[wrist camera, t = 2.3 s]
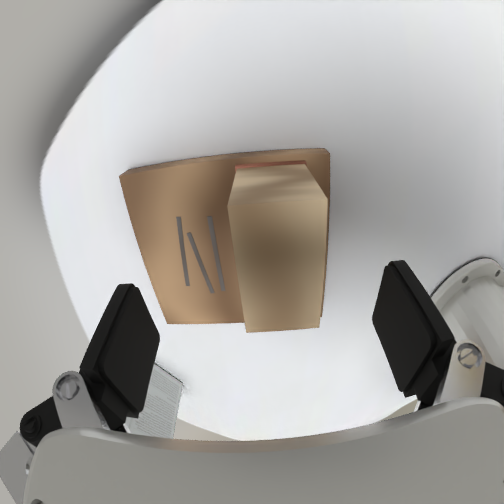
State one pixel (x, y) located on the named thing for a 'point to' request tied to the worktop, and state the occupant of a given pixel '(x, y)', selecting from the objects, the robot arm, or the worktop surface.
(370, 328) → the worktop surface
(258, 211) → the block
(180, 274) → the brown flat square slab
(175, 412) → the skincare box
